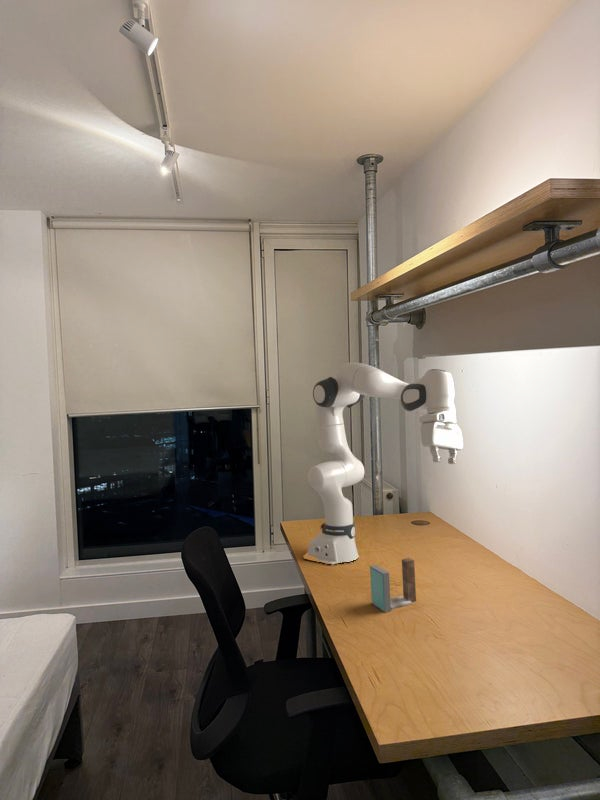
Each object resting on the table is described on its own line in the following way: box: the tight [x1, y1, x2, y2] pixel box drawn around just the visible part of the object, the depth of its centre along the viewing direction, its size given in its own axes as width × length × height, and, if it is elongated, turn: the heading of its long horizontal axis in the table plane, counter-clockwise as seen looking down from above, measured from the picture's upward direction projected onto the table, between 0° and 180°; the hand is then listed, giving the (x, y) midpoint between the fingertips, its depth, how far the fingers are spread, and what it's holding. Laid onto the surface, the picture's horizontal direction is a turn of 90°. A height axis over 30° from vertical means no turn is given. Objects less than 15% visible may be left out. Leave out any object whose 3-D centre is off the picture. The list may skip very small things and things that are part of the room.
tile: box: [369, 564, 392, 613], centre depth 175 cm, size 2×8×12 cm, turn 23°
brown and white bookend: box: [390, 557, 417, 610], centre depth 177 cm, size 10×6×13 cm, turn 113°
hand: (444, 463), depth 175 cm, fingers open, 8 cm apart
